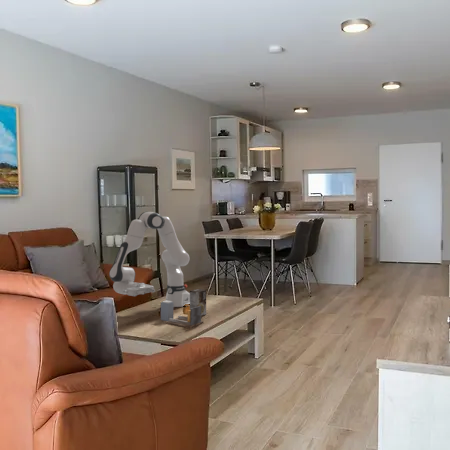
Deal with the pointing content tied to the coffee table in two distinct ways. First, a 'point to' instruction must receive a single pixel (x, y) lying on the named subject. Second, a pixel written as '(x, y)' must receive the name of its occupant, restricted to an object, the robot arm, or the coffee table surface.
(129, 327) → the coffee table surface
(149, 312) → the coffee table surface
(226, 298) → the coffee table surface
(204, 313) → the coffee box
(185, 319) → the rail dock
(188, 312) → the latch clip
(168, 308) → the block
